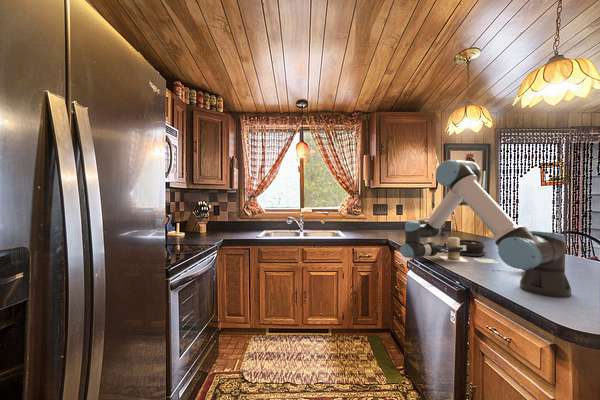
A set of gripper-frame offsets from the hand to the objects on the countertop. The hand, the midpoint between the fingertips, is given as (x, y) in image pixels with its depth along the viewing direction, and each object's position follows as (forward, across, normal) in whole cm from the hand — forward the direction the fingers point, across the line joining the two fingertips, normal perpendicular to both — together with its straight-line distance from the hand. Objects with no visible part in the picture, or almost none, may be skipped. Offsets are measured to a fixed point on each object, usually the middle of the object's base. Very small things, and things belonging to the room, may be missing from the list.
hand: (460, 246), depth 161 cm
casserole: (+17, -10, -8) cm, 21 cm away
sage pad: (+8, +9, -8) cm, 14 cm away
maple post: (-5, 0, -6) cm, 8 cm away
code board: (-5, 0, -8) cm, 9 cm away
